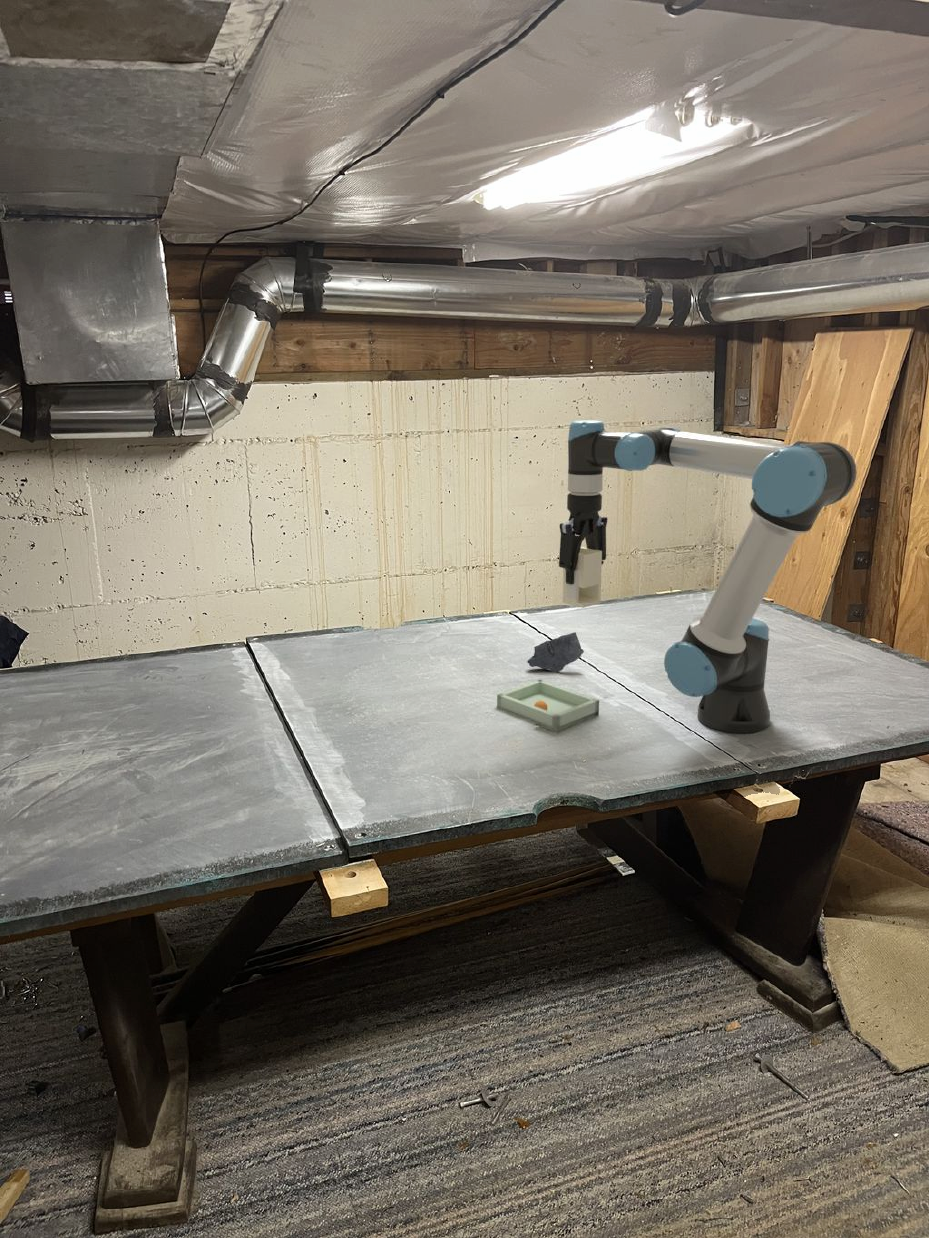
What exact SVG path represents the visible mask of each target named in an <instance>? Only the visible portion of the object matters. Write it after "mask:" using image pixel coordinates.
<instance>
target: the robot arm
mask: <svg viewBox="0 0 929 1238" xmlns="http://www.w3.org/2000/svg"><path fill="white" fill-rule="evenodd" d="M568 428H569V430H568V438H567V439H568V440H567V449H568V452H567V454H568V457H567V458H568V460H567V461H568V469H567V474H568V476H567V491H568V492H569V493H567V499H566V501H567V502H566V504H567V505H566V506H567V507H566V508H567V509H566V510H568V511H569V513H570V515H569V518H568V521H567V522H565V523H563V522H562V523H560V524H559V533H560V541H559V543H560V544H559V555H558V557H559V560H558V567H559V568H561V569H563V568H564V569H566V584H567V597H569V598H574V599H578V572H579V570H576V566H577V561H578V554H579V553H580V548H581V547H582V544H583V543H582V542H583V541H584V540H585V543H586V545H585V546H586V548H588V549H593V550H600V551H602V565H604V562H605V561H606V559H607V525H608V517H606V516H602V515H601V516H600V514H599V512H600V511H601V510H602V505H603V503H602V502H603V501H602V500H603V495H602V491H603V480H604V479H603V478H604V477H603V475H604V474H603V471H604V468H609V469H617V470H625V471H628V472H632V471H639V472H640V471H645V470H647V469H648V467H649V466H655V465H656V466H657V465H662V466H667V467H668V466H669V467H676V468H683V469H689V470H695V471H700V472H707V473H712V474H719V475H725V476H729V477H731V476H732V477H738V478H742V479H748V480H751V490H752V492H753V495H752V498H751V500H750V502H749V508H750V510H751V513H752V518H751V519H750V522H749V524H748V526H747V528H746V529H745V531H744V533H743V535H742V537H741V539H740V542H739V543H738V545H737V547H736V549H735V551H734V554H733V556H732V557H731V559H730V561H729V563H728V565H727V568H726V569H725V571H724V573H723V576H722V577H721V578H720V579H721V580H720V581H719V583H718V585H717V587H716V588H715V591H714V593H713V595H712V596H711V599H710V601H709V603H708V605H707V607H706V609H705V610H704V613H703V615H701V616H697V617H695V618H693V619H692V620H691V622H690V624H689V625H688V627H687V629H686V631H685V634H684V635H683V637H682V639H681V640H680V641H675V642H674V644H672V645H671V646H670V647H669V648H668V649H667V650H666V652H665V655H664V659H663V660H664V661H663V665H664V671H665V672H666V674H667V678H668V680H669V682H670V683H671V685H672V686H673V687H674V689H676V690H677V691H678V692H680V693H681V694H683V695H685V696H687V697H692V698H697V697H698V698H700V697H701V698H700V701H699V704H698V705H697V706H698V707H697V719H698V721H699V722H700V723H701V724H703V725H704V726H706V727H708V728H710V729H711V728H712V729H713V730H717V731H721V732H725V733H734V734H751V733H758V732H761V731H764V730H766V729H767V728H769V726H770V724H771V723H770V722H771V721H770V720H771V713H770V709H769V704H768V700H767V696H766V692H765V681H766V670H767V660H768V650H769V642H770V638H769V634H770V633H769V632H770V628H769V626H768V624H767V623H766V622H764V621H763V620H760V619H757V618H754V616H755V614H756V612H757V611H758V609H759V607H760V605H761V604H762V601H763V599H764V597H765V595H766V594H767V592H768V590H769V589H770V586H771V585H772V583H773V581H774V579H775V577H776V576H777V573H778V572H779V570H780V568H781V566H782V564H783V562H784V561H785V559H786V557H787V555H788V553H789V552H790V549H791V548H792V546H793V544H794V542H795V540H796V538H797V536H799V535H802V534H806V533H809V532H810V531H811V529H812V528H813V526H814V524H815V523H816V520H817V518H818V516H819V515H820V513H821V512H822V509H823V508H824V507H826V506H830V505H833V504H836V503H838V502H840V501H841V500H842V499H844V498H845V497H846V496H848V494H849V493H850V492H851V490H852V489H853V488H854V485H855V483H856V479H857V464H856V462H855V459H854V457H853V456H852V454H851V452H850V451H849V450H847V449H846V448H845V447H843V445H840V444H838V443H836V442H830V441H819V442H812V441H811V442H810V441H804V440H803V441H801V440H796V441H794V442H793V443H791V444H790V445H789V444H784V443H774V442H766V441H760V440H750V439H746V438H745V439H743V438H736V437H728V436H720V435H715V434H714V435H713V434H707V433H706V434H705V433H699V432H698V433H697V432H691V431H681V430H680V429H678V428H675V427H665V426H663V427H660V428H654V429H646V430H645V429H644V430H634V431H626V432H625V431H624V432H623V431H622V432H621V431H605V430H606V429H605V423H604V422H603V421H601V420H596V419H595V420H592V419H591V420H589V419H585V420H574V421H572V422H570V424H569V427H568ZM571 563H572V564H571Z"/></svg>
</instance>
